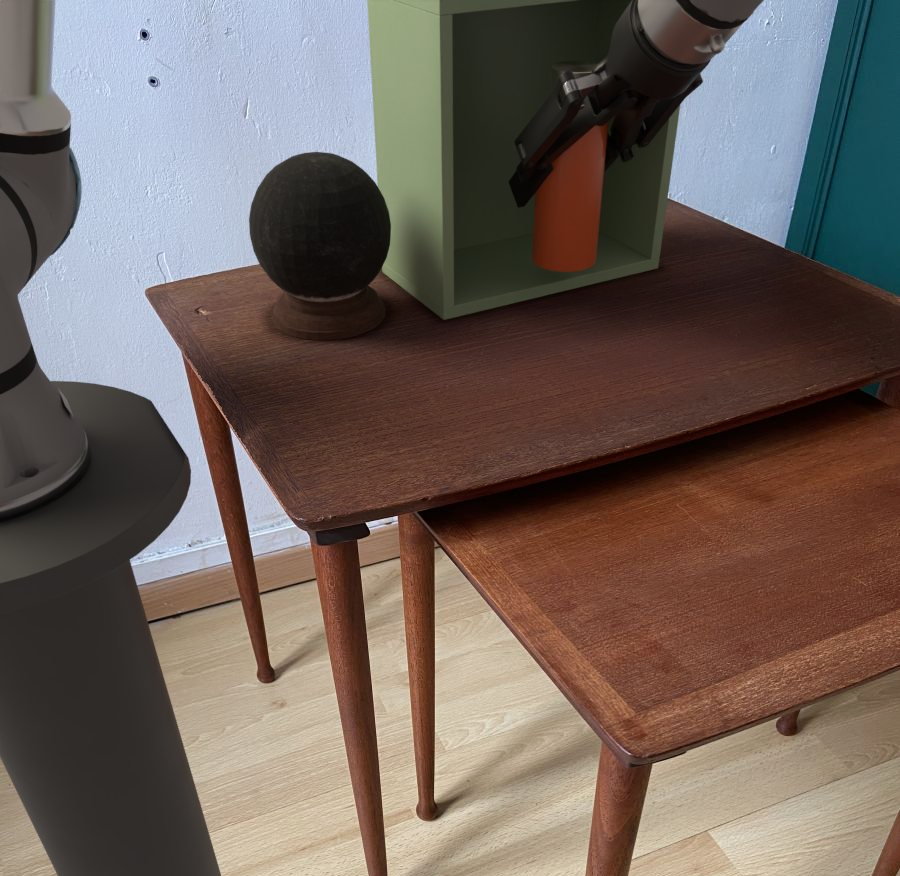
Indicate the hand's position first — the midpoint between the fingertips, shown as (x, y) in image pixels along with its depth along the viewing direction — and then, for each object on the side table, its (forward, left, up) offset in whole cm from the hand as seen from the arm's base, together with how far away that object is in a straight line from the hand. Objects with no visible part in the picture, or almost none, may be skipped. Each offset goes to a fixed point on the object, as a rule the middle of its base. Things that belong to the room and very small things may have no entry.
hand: (547, 188), depth 94 cm
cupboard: (-2, +4, -10) cm, 11 cm away
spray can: (+1, -3, -6) cm, 7 cm away
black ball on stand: (-22, -5, -10) cm, 25 cm away
